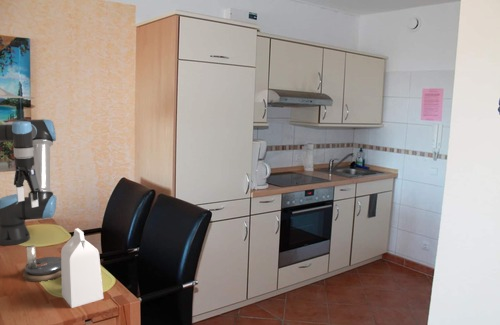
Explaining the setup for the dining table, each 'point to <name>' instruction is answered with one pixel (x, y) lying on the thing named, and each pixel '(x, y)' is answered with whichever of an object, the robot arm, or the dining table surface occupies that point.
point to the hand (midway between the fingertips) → (27, 204)
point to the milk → (80, 271)
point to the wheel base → (41, 277)
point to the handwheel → (41, 263)
